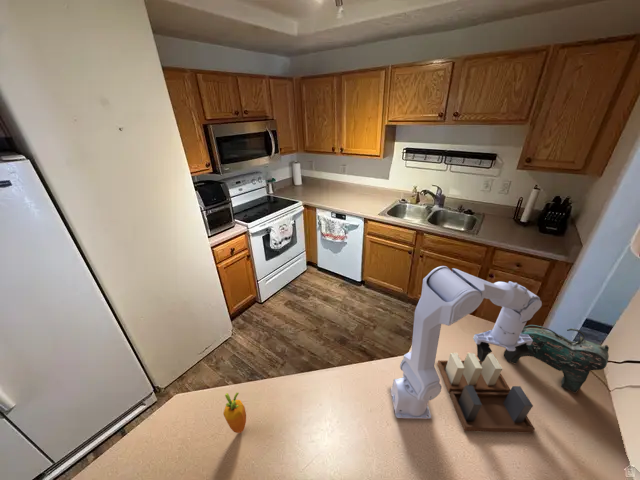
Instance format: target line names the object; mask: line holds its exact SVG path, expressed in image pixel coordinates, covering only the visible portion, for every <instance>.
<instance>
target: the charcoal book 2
mask: <svg viewBox="0 0 640 480" xmlns="http://www.w3.org/2000/svg"><path fill="white" fill-rule="evenodd" d="M503 404H504V406H505V407H506V409H507V411H508V413H509V414H510V416H511V418H512V420H513V421H514V423H522V422H523V420H524V419H525V417H526V416H527V417H528V414H529V413H530V411H531V410H532V409H533V407H534V405H533V404H532V402H531V401H530V399H529V397H528V396H527V394H526V393H525V391H524V390H523V388H522V386H520V385H512V387H511V388H510V392H509V394H508V395H507V397H506V399H505V401H504V402H503Z"/></svg>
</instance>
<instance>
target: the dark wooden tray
mask: <svg viewBox="0 0 640 480" xmlns="http://www.w3.org/2000/svg"><path fill="white" fill-rule="evenodd" d="M449 393H450V394H449V397H450V400H451V402H452V404H453V407H454V410H455V412H456V414H457V417H458V420H459V422H460V424H461V427H462V430H463V432H486V433H487V432H488V433H489V432H491V433H525V434H526V433H527V434H528V433H530V434H531V433H532V434H533V432H534V431H535V430H536V429H535V427H534V425H533V424H532V422H531V420H530V418H529V417H528V415H527V416H526V417H525V419H524V420H523V422H522V423H514V421H513V420H512V418H511V416H510V414H509V413H508V411H507V409H506V407H505V406H504V404H503V402H504V401H505V399H506V397H507V395H508V394H509V393H500V392H476V393H477V395H478V397H479V399H480V401H481V403H482V406H481V408H480V410H479V412H478V414H477V416H476V418H475V420H474V422H473V421H466V420H465V417H464V415H463V413H462V410H461V408H460V405H459V403H458V401H459V399H460V396H461V394H462V392H449Z"/></svg>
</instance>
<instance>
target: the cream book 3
mask: <svg viewBox="0 0 640 480" xmlns="http://www.w3.org/2000/svg"><path fill="white" fill-rule="evenodd" d="M481 366H482V368H483V369H482V371H481V374H482V376H483V378H484V380H485V382H486V384H487V385H491V386H494V385H495V383H496V381H497V379H498V377H499V375H500V373H501V374H502V371H503V370H504V369H503V366H502V365H501V363H500V362H499V361H498V359H497V357H496V355H495V354H494V353H493V352H491V353H489V354H488V355H487V356H486V358H485V360H484V361H483V362H482V365H481Z"/></svg>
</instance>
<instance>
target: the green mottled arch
mask: <svg viewBox="0 0 640 480" xmlns="http://www.w3.org/2000/svg"><path fill="white" fill-rule="evenodd" d="M566 331H567V332H570V331H574V332H576V333H579V334H581V335H582V336H581V335H579V340H578V341H576V342H574V341H572V340H570V339H569V338H567V337H565V336H564V335H562V334H558V333H556V332H555V331H553V330H551V329H550V328H547V327H544V326H541V325H537V324H528V325H525V326H524V328H523V330H522V332H521V334H525V335H529V336H530V337H531V339H532V340H533V341H532V343H531V345H526V346H527V347H528V349H529V351H528V353H524V354H521V355H519V356H518V357H516V358H515V359H513V360H512V361H511V362H510V363H512V364H517V363H518V361H519V360H520V359H521V358H523V357H533V358H534V359H536V360H539V361H541V362H542V363H545V364H546V365H548V366H549V367H551V368H553V369H554V370H556V371H559V372H562V374H563V376H562V378H561V382H560V383H561V385H560V387H561V388H563V389H566V390H568V391H570V392H572V393H574V394H576V393H577V392H578V391H579V390H580V389H581V387H582V386H583V384H584V383H585V382H586V381H587V378H588V377H589V375H590V372H591V371H601V370H603V369H606V367H607V365H608V363H609V357H610V356H609V355H610V354H609V349H610V348H609V345H607V344H605V345H600V344H598V343H595V342H592V341H590V340H585V333H583V332H582V331H581V330H579V329H577V328H574V327H572V328H567V329H566Z"/></svg>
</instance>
